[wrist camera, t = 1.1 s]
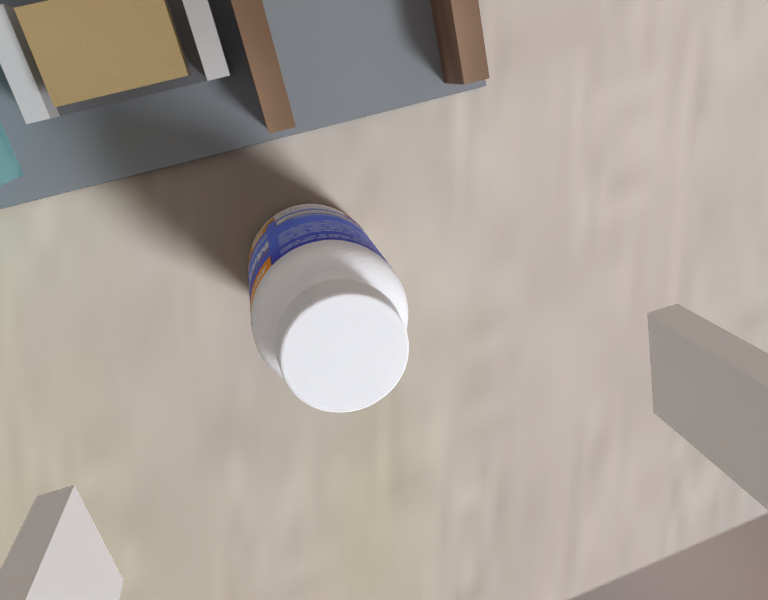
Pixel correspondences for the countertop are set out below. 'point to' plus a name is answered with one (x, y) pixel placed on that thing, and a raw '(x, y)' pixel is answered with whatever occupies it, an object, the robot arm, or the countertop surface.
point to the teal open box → (8, 160)
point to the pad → (101, 46)
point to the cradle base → (205, 61)
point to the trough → (454, 36)
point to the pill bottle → (327, 309)
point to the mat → (238, 95)
